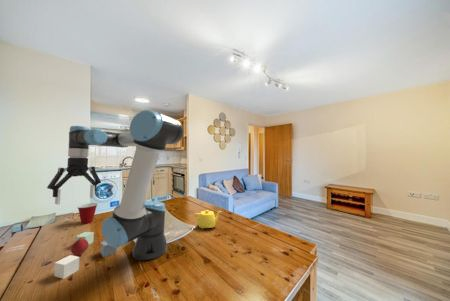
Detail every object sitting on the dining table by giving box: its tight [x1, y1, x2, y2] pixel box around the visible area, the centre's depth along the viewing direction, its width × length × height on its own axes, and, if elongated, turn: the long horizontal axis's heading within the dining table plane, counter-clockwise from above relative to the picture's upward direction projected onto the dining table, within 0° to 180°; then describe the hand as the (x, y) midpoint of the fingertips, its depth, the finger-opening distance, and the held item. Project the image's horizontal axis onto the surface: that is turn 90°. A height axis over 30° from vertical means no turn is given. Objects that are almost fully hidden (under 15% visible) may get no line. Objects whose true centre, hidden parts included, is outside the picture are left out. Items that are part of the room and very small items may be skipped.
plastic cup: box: [76, 202, 98, 225], centre depth 110 cm, size 11×11×12 cm
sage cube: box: [74, 231, 95, 245], centre depth 83 cm, size 5×5×5 cm
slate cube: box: [99, 240, 117, 258], centre depth 77 cm, size 5×5×5 cm
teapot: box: [194, 209, 222, 229], centre depth 109 cm, size 18×11×11 cm, turn 96°
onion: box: [70, 237, 90, 256], centre depth 74 cm, size 6×6×8 cm
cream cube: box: [53, 254, 81, 280], centre depth 63 cm, size 5×5×5 cm
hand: (76, 200), depth 81 cm, fingers open, 13 cm apart
